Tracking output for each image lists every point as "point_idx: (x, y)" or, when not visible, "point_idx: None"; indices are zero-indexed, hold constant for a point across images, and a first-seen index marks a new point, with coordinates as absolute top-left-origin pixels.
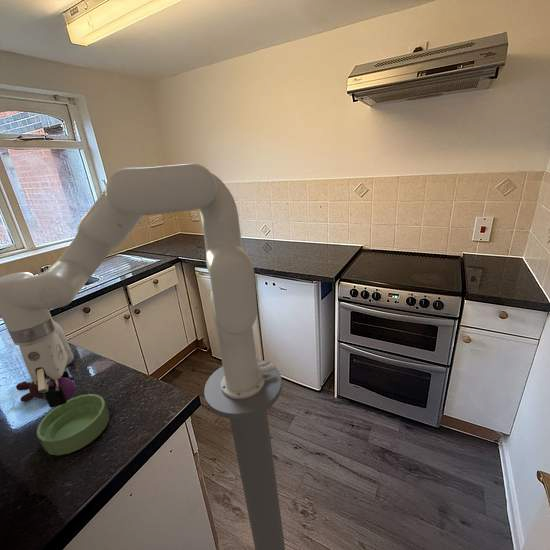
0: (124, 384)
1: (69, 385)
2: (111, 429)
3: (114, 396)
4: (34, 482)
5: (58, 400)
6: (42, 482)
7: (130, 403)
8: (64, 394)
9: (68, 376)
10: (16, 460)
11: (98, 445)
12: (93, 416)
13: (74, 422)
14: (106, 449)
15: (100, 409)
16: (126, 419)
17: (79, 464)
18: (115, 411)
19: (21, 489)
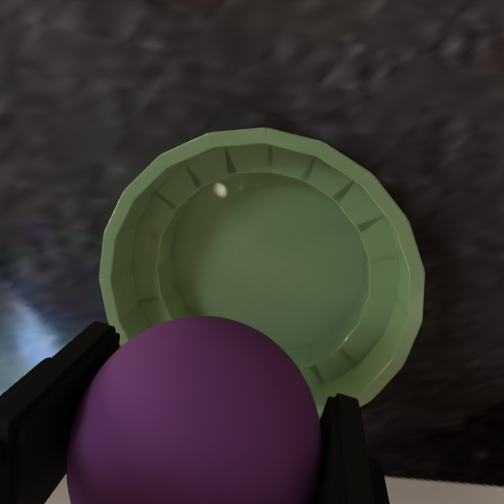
0: (65, 3)
1: (256, 404)
2: (378, 141)
3: (135, 78)
4: (413, 414)
5: (382, 488)
6: (438, 397)
7: (257, 8)
8: (319, 433)
9: (58, 376)
10: None
11: (432, 211)
12: (231, 197)
13: (209, 271)
14: (492, 186)
15: (255, 161)
16: (370, 58)
17: (471, 291)
18: (260, 97)
19: (408, 443)
